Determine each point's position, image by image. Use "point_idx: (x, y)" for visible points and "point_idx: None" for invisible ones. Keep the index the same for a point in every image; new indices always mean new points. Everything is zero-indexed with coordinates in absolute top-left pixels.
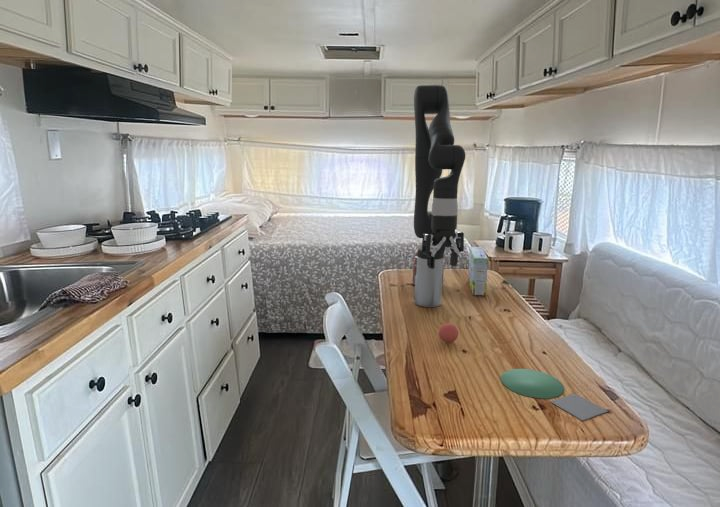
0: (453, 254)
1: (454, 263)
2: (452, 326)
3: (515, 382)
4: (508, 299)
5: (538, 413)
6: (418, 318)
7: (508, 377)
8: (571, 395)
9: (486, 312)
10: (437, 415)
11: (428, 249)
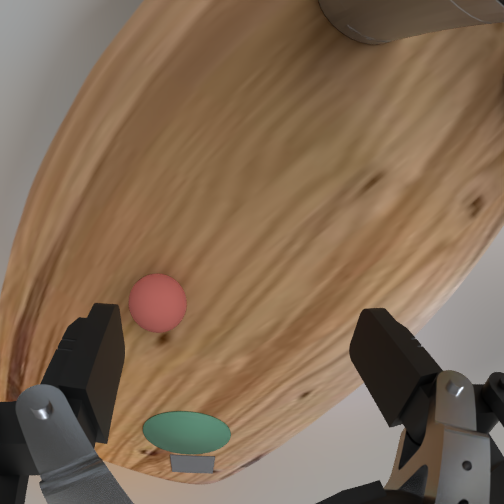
0: (399, 406)
1: (358, 363)
2: (156, 331)
3: (163, 429)
4: None
5: (139, 455)
6: (214, 83)
7: (164, 420)
8: (206, 457)
9: (437, 183)
10: None
11: (5, 495)
